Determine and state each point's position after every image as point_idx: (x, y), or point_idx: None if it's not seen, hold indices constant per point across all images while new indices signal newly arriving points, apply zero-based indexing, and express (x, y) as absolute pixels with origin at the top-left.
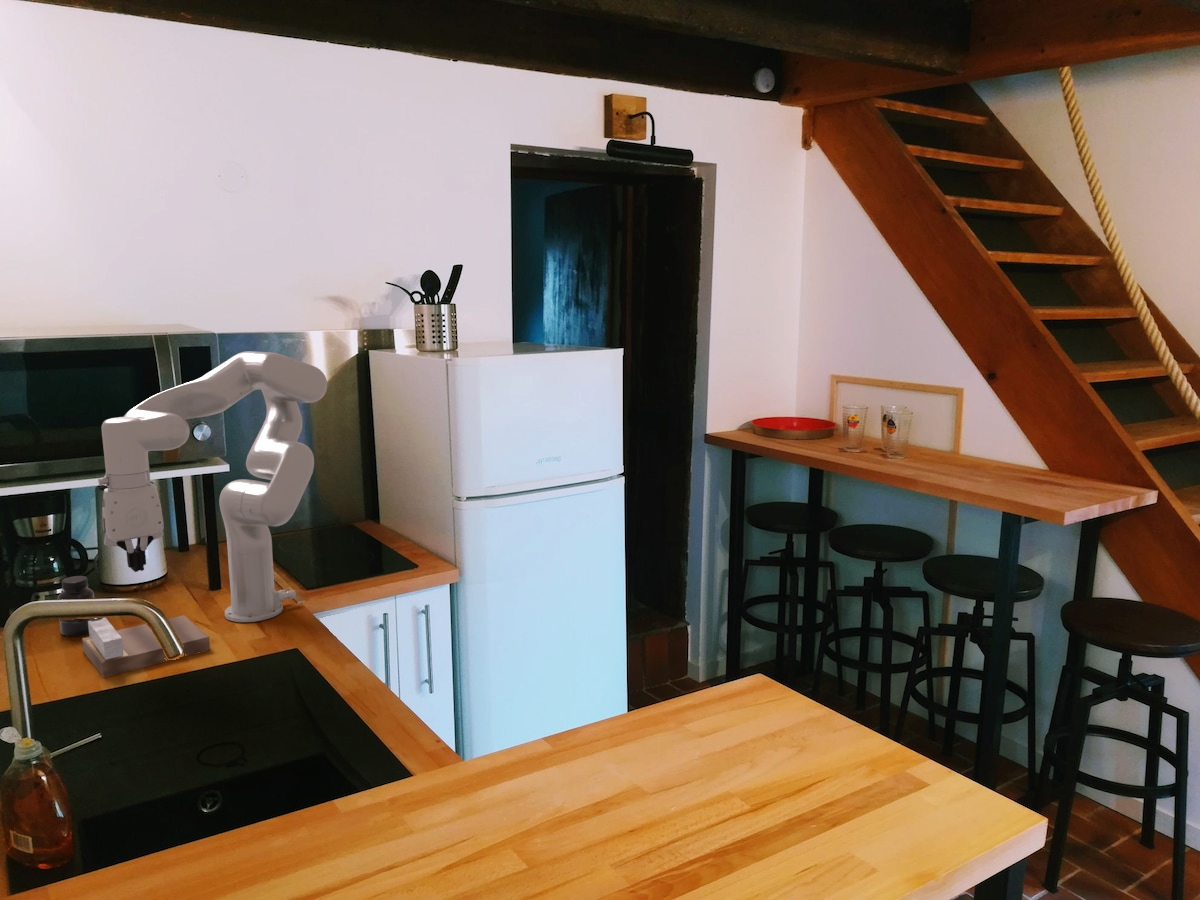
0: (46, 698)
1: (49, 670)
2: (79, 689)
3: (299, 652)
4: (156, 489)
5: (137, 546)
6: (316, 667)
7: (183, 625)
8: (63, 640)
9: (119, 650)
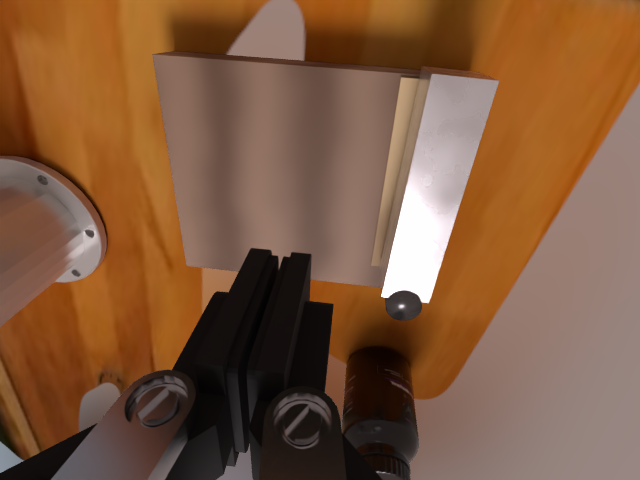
0: None
1: (524, 225)
2: (559, 33)
3: None
4: None
5: (209, 463)
6: None
7: (201, 201)
8: (418, 348)
9: (436, 69)
